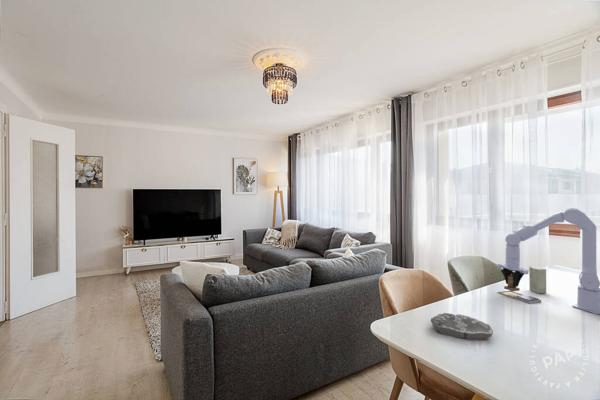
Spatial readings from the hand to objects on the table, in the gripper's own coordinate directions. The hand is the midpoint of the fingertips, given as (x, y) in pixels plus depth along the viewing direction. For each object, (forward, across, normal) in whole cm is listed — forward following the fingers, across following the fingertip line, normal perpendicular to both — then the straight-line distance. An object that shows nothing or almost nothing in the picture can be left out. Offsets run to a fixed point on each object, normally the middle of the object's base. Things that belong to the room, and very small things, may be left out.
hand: (512, 285), depth 150 cm
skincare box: (+5, -1, +18) cm, 19 cm away
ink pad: (+5, +8, 0) cm, 9 cm away
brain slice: (+5, +26, -56) cm, 62 cm away
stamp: (+2, 0, 0) cm, 2 cm away
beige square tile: (+5, 0, 0) cm, 5 cm away
